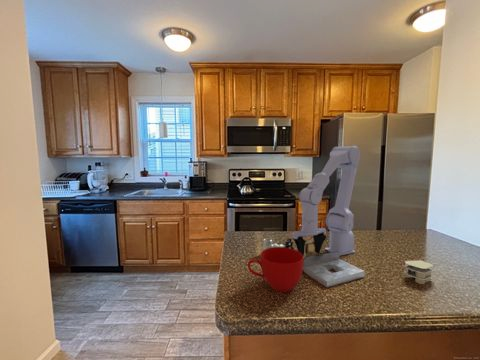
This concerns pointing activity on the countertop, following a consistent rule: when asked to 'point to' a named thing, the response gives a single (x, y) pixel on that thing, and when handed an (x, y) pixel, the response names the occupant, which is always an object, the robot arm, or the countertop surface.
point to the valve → (268, 244)
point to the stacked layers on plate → (419, 271)
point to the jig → (324, 262)
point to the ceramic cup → (280, 267)
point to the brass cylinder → (309, 249)
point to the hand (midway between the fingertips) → (309, 254)
